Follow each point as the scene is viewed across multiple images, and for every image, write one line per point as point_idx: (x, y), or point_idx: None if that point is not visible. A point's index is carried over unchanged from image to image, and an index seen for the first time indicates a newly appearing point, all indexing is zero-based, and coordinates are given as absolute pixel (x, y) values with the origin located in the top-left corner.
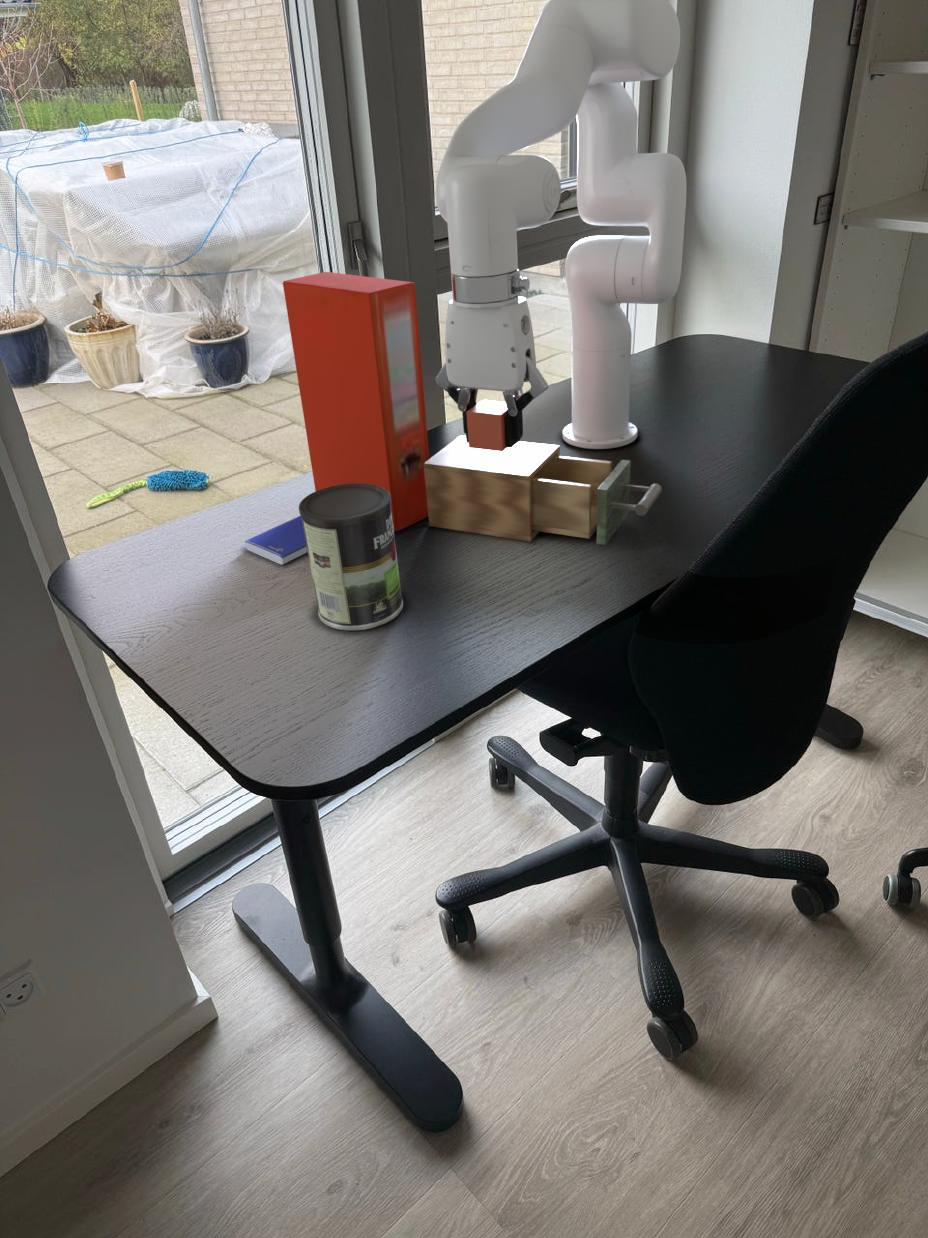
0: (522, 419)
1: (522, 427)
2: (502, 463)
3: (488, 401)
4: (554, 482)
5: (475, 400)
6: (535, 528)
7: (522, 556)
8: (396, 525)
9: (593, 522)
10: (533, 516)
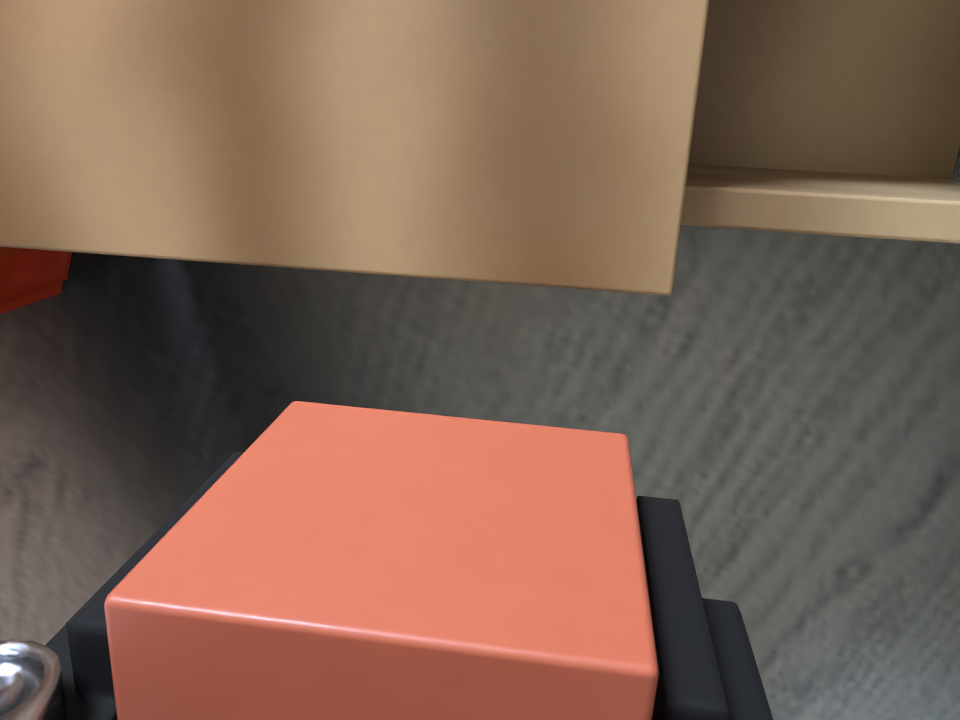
0: (768, 709)
1: (746, 646)
2: (418, 119)
3: (222, 660)
4: (833, 233)
5: (52, 717)
6: None
7: (642, 356)
8: (49, 284)
9: (953, 78)
10: None
